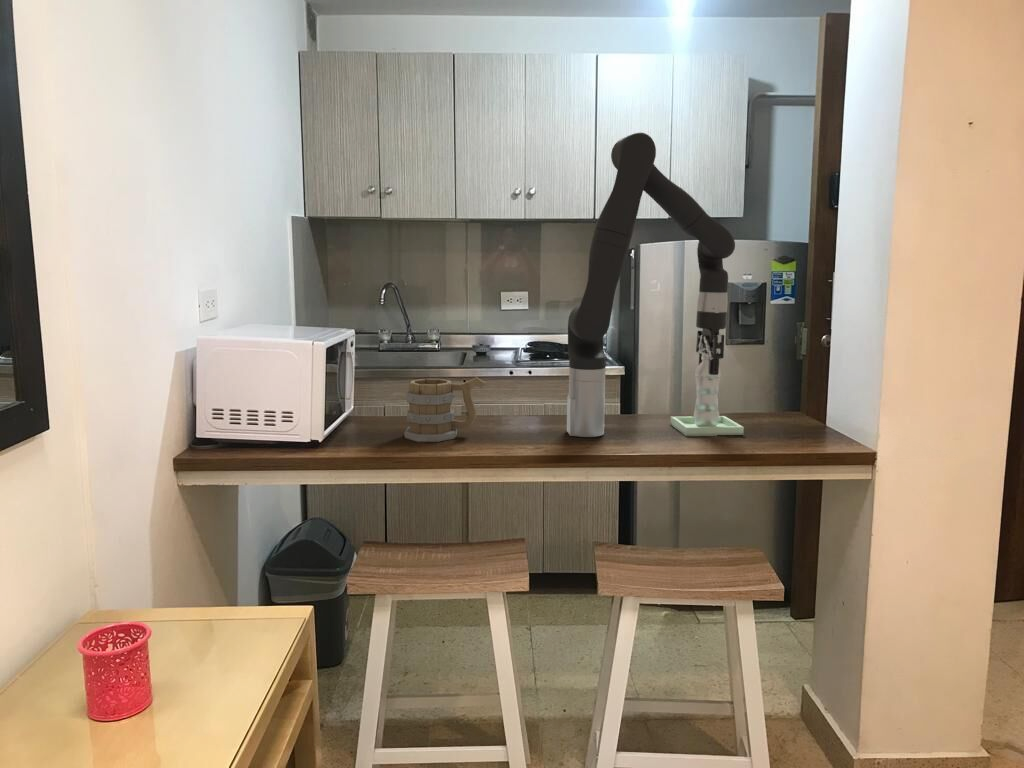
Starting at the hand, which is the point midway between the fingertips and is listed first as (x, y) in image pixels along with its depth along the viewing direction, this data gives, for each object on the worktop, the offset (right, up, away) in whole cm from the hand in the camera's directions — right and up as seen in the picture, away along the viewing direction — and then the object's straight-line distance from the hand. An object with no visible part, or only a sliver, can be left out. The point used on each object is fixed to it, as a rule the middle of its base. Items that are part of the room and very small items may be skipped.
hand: (708, 372), depth 192 cm
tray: (0, -15, +2) cm, 15 cm away
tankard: (-68, -17, -6) cm, 70 cm away
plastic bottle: (0, -15, +2) cm, 15 cm away
